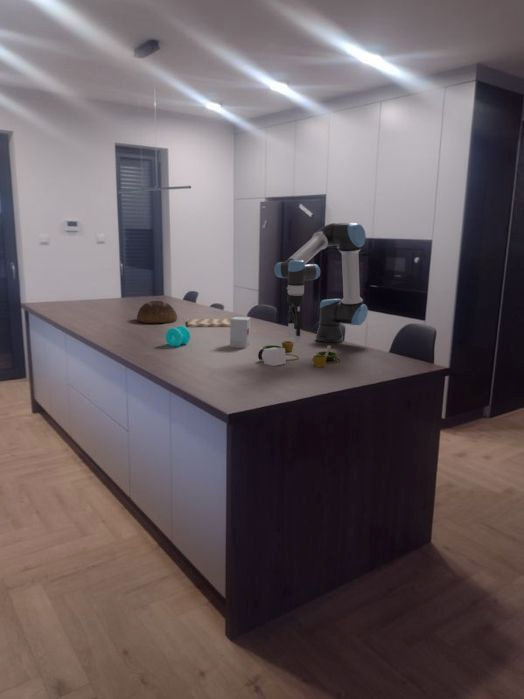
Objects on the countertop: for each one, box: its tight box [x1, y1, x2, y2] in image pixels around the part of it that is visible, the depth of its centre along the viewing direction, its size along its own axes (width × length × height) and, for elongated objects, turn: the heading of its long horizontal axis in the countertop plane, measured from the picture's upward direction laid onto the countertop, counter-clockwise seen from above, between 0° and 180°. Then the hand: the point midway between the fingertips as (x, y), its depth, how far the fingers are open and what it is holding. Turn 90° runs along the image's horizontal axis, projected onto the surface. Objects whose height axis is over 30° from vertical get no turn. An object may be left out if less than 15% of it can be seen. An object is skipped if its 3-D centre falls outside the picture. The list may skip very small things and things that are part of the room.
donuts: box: [165, 325, 191, 347], centre depth 278 cm, size 10×10×10 cm
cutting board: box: [186, 318, 232, 328], centre depth 344 cm, size 30×20×2 cm, turn 100°
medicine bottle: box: [257, 347, 287, 367], centre depth 244 cm, size 7×7×12 cm
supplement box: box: [229, 316, 251, 349], centre depth 279 cm, size 9×9×15 cm
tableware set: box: [262, 340, 341, 368], centre depth 257 cm, size 41×28×6 cm
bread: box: [136, 300, 178, 324], centre depth 351 cm, size 26×27×13 cm
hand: (293, 339), depth 251 cm, fingers open, 13 cm apart
